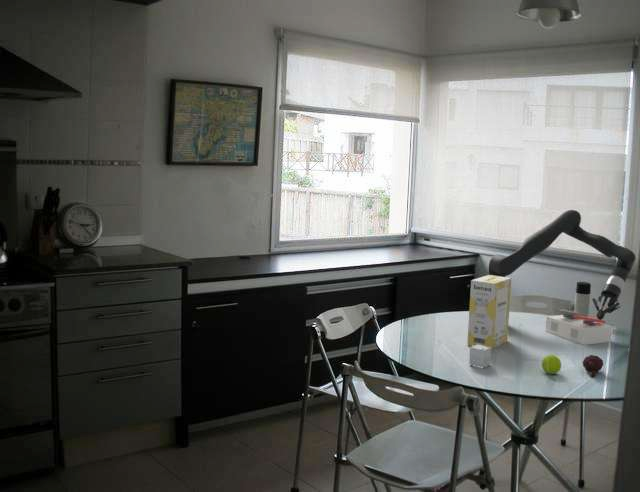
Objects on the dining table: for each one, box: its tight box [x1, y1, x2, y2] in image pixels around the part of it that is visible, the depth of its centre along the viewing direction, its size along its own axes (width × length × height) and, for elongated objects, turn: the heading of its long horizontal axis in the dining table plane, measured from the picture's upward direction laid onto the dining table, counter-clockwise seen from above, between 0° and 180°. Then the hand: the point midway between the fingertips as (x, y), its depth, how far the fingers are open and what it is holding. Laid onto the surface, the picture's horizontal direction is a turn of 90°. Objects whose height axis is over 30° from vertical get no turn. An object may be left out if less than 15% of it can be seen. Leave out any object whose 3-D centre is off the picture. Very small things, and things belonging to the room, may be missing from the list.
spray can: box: [573, 281, 592, 317], centre depth 351 cm, size 7×7×20 cm
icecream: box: [582, 354, 604, 378], centre depth 274 cm, size 7×7×15 cm
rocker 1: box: [553, 307, 585, 316], centre depth 331 cm, size 14×5×2 cm, turn 114°
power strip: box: [545, 313, 614, 346], centre depth 326 cm, size 16×24×8 cm
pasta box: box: [466, 274, 512, 350], centre depth 309 cm, size 18×10×28 cm, turn 144°
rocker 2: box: [573, 314, 606, 324], centre depth 320 cm, size 14×5×2 cm, turn 114°
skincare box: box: [468, 344, 492, 368], centre depth 278 cm, size 6×6×7 cm
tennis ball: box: [541, 354, 562, 375], centre depth 271 cm, size 7×7×7 cm
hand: (599, 318), depth 322 cm, fingers closed
